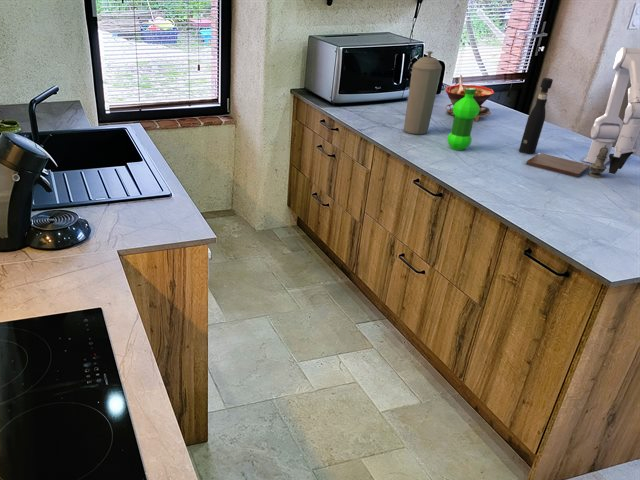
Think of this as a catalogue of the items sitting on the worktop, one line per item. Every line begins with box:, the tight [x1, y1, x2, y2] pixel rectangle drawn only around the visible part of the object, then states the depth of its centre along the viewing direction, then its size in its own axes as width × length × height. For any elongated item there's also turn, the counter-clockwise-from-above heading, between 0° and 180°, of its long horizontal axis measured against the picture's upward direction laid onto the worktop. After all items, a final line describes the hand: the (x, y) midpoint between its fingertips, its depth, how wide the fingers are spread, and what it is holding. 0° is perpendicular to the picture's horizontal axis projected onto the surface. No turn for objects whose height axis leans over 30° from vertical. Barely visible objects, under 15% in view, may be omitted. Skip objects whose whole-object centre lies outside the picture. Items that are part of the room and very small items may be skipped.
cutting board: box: [526, 152, 590, 178], centre depth 239 cm, size 14×20×2 cm
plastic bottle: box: [447, 88, 480, 151], centre depth 249 cm, size 10×10×25 cm
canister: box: [403, 50, 443, 135], centre depth 266 cm, size 13×13×35 cm
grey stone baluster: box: [587, 145, 608, 178], centre depth 228 cm, size 6×6×12 cm
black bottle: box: [518, 77, 554, 155], centre depth 246 cm, size 6×6×30 cm
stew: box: [444, 74, 495, 122], centre depth 298 cm, size 28×24×16 cm
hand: (614, 170), depth 226 cm, fingers open, 7 cm apart
